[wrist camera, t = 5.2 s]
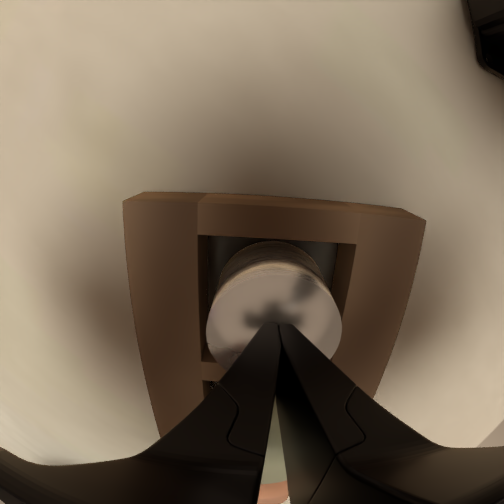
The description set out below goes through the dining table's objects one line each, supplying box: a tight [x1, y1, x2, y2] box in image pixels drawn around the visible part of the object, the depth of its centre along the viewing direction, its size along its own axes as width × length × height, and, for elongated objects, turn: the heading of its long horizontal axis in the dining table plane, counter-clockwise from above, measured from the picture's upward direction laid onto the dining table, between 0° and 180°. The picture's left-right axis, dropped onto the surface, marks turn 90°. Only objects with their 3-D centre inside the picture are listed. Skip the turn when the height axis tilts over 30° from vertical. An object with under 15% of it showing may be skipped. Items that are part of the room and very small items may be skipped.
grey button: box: [206, 241, 342, 371], centre depth 10 cm, size 4×4×3 cm
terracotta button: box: [257, 480, 288, 504], centre depth 14 cm, size 4×4×3 cm
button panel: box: [123, 192, 426, 496], centre depth 13 cm, size 10×19×2 cm, turn 177°
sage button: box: [261, 398, 287, 484], centre depth 11 cm, size 4×4×3 cm
